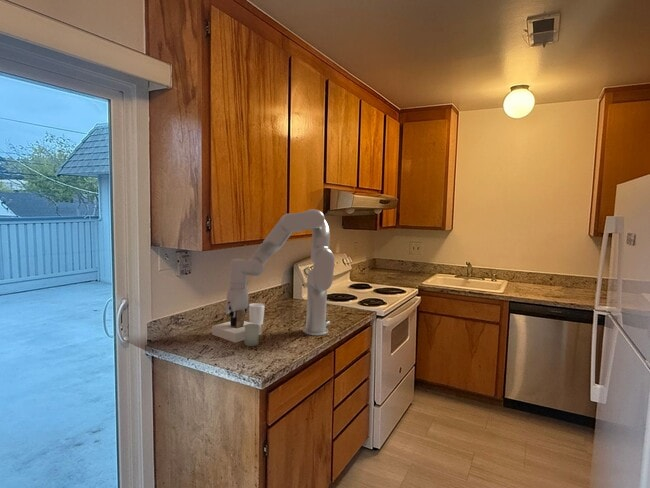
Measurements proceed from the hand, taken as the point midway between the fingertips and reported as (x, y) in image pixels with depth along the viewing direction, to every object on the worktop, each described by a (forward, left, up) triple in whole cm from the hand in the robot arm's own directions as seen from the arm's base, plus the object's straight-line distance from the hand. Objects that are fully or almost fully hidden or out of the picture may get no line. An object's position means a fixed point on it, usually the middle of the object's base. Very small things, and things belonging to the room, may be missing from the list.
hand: (237, 324), depth 181 cm
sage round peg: (+4, +14, -5) cm, 15 cm away
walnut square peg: (0, 0, -3) cm, 3 cm away
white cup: (-18, -6, -5) cm, 20 cm away
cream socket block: (0, 0, -5) cm, 5 cm away
